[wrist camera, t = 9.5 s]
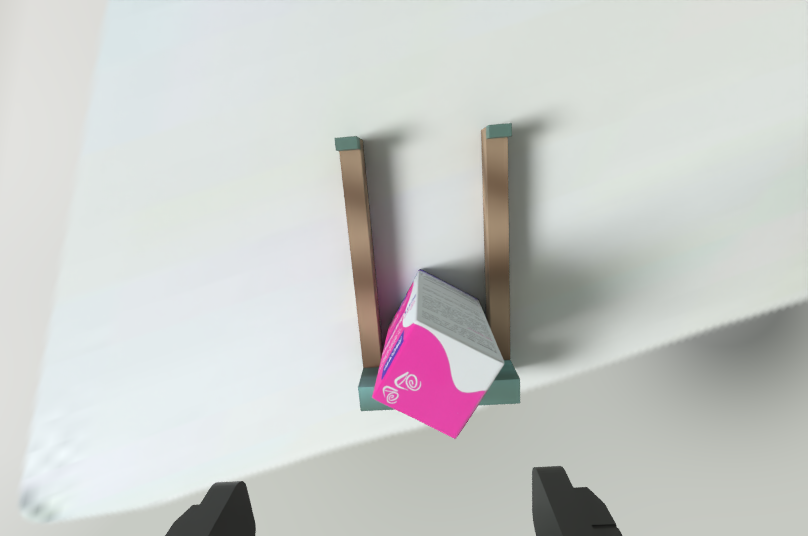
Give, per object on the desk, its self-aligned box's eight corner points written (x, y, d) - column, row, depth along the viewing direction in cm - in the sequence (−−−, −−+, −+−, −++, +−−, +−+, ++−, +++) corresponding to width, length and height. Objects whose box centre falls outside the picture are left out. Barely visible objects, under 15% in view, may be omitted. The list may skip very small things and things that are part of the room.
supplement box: (417, 266, 32) (417, 316, 21) (479, 298, 32) (513, 364, 21) (385, 324, 33) (369, 401, 22) (446, 354, 34) (460, 444, 22)
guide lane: (343, 141, 29) (328, 135, 25) (501, 128, 29) (518, 119, 24) (368, 377, 34) (360, 411, 29) (505, 370, 34) (520, 403, 29)
